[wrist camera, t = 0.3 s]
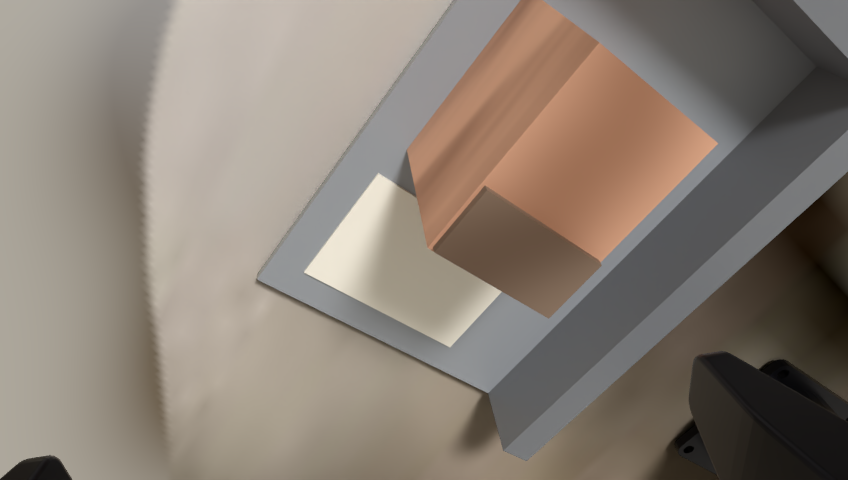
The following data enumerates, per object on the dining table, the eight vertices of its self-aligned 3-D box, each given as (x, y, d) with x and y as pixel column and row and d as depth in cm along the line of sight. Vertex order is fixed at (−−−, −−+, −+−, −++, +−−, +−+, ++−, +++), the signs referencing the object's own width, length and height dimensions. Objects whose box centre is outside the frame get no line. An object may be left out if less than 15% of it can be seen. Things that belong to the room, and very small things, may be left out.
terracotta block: (622, 68, 20) (723, 147, 15) (499, 209, 22) (548, 322, 17) (528, -11, 18) (603, 45, 13) (406, 149, 20) (428, 253, 15)
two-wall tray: (859, 53, 21) (942, 86, 18) (507, 396, 27) (526, 461, 24) (609, -218, 16) (666, -233, 13) (258, 273, 23) (245, 334, 20)
